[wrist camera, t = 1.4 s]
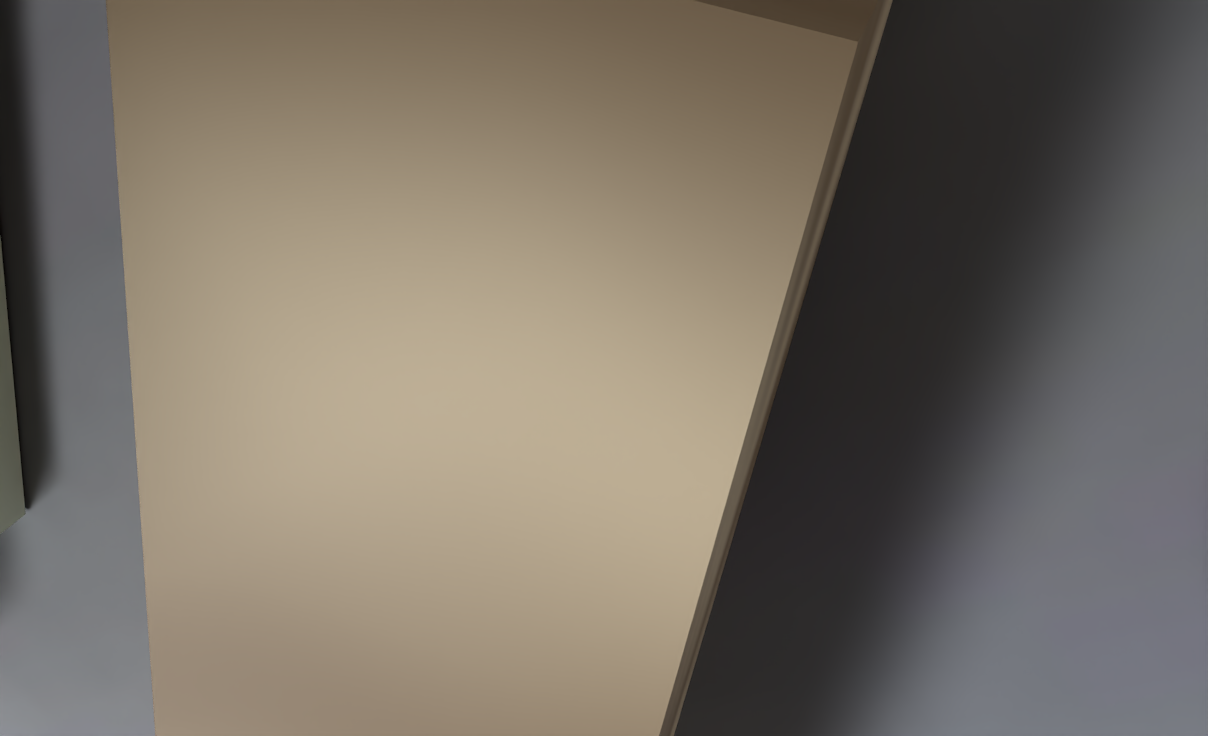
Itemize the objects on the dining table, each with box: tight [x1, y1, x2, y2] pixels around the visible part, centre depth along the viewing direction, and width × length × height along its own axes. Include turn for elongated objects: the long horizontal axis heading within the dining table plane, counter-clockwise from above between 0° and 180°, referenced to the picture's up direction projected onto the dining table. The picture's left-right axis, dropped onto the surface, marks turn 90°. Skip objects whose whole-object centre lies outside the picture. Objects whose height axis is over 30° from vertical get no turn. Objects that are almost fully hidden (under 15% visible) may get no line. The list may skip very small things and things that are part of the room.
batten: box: [106, 0, 893, 736], centre depth 10 cm, size 12×4×4 cm, turn 170°
